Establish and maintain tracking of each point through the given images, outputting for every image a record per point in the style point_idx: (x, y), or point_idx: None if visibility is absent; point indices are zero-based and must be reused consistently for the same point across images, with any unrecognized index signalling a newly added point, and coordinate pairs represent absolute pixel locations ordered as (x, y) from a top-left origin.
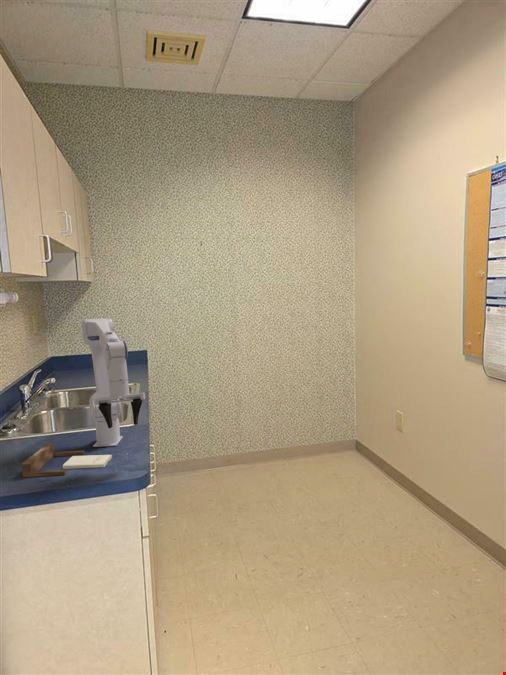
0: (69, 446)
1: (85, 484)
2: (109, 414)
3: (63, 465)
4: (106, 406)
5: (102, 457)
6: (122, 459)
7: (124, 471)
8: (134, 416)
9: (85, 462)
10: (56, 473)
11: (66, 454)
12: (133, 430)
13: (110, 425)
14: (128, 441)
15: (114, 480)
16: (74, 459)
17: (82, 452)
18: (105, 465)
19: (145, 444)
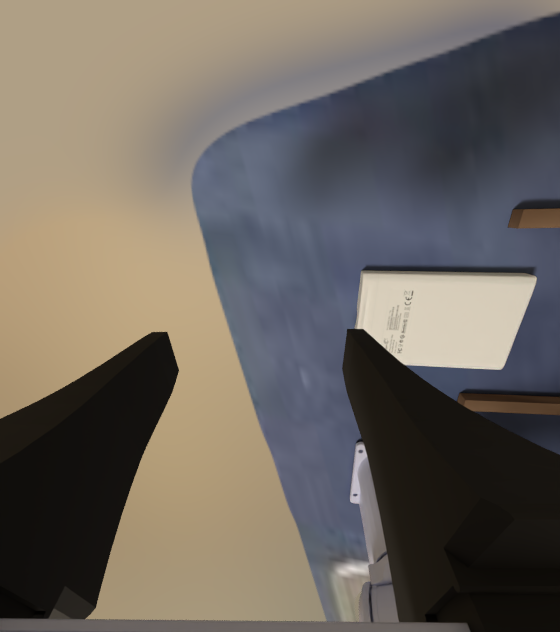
0: None
1: (405, 86)
2: (381, 440)
3: (533, 278)
4: (462, 517)
5: (382, 338)
6: (309, 332)
7: (272, 218)
8: (113, 367)
9: (442, 296)
10: (555, 208)
11: (524, 398)
12: (329, 536)
13: (350, 344)
14: (325, 468)
15: (288, 123)
16: (491, 333)
17: (466, 398)
18: (359, 286)
19: (265, 438)
